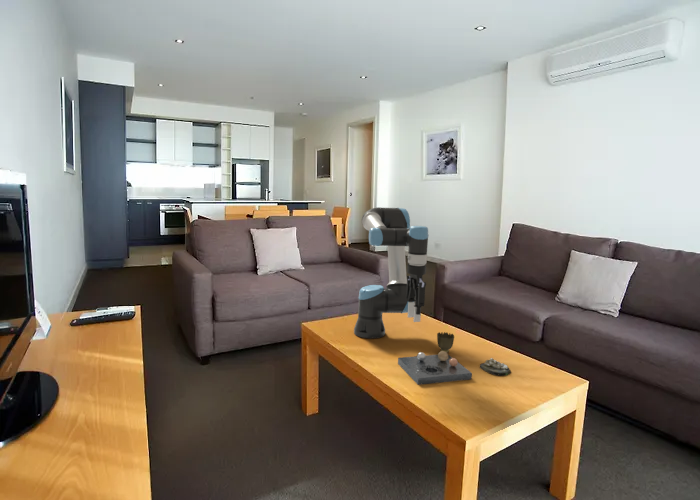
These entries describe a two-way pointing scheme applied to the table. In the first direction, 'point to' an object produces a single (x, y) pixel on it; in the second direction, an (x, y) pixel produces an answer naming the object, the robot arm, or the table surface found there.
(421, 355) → the steel ball
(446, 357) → the beech ball
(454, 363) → the terracotta ball
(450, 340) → the cup
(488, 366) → the grey rocky sculpture
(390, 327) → the table surface
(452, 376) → the race plate
